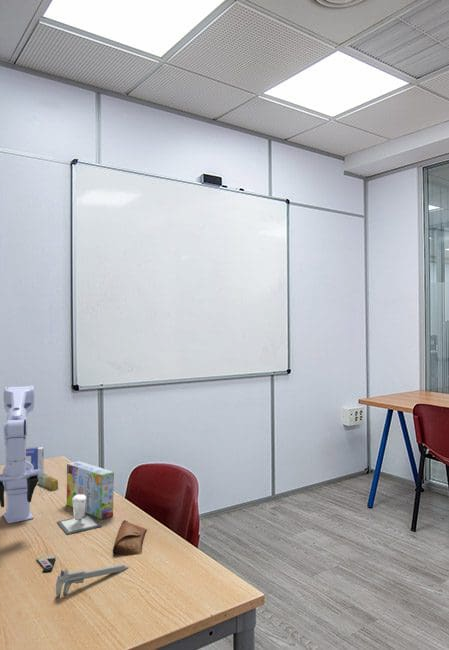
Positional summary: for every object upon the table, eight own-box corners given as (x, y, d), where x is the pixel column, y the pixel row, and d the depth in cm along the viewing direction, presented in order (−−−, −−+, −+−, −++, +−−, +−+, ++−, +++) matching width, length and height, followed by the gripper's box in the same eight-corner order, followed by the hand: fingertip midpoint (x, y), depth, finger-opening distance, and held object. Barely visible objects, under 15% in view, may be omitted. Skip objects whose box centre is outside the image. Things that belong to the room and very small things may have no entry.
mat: (56, 522, 164) (56, 521, 164) (89, 515, 171) (89, 514, 171) (66, 534, 155) (66, 533, 155) (101, 526, 161) (101, 525, 161)
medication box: (37, 484, 203) (37, 474, 203) (43, 482, 205) (43, 472, 205) (52, 491, 195) (52, 481, 195) (58, 489, 197) (58, 479, 197)
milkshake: (84, 527, 160) (84, 495, 160) (69, 525, 162) (69, 494, 161) (91, 521, 164) (91, 491, 164) (77, 519, 166) (77, 489, 166)
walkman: (23, 477, 211) (23, 448, 211) (24, 475, 214) (24, 447, 214) (42, 476, 213) (42, 447, 213) (43, 474, 216) (43, 446, 216)
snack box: (114, 515, 171) (114, 471, 171) (101, 520, 167) (101, 475, 167) (78, 500, 185) (78, 459, 185) (65, 505, 180) (65, 463, 180)
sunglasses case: (143, 554, 142) (130, 534, 142) (121, 568, 142) (109, 548, 142) (147, 528, 160) (136, 510, 160) (128, 540, 160) (117, 522, 160)
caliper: (58, 599, 120) (58, 573, 120) (55, 597, 121) (55, 571, 121) (129, 569, 135) (129, 545, 135) (126, 567, 136) (126, 544, 136)
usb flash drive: (51, 573, 133) (51, 569, 133) (30, 575, 132) (30, 571, 132) (56, 558, 141) (56, 554, 141) (37, 559, 140) (37, 555, 140)
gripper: (-8, 466, 146) (-8, 513, 146) (43, 458, 154) (43, 502, 154) (-12, 460, 151) (-12, 505, 152) (38, 453, 160) (38, 496, 160)
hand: (15, 503), depth 153 cm, fingers open, 7 cm apart
